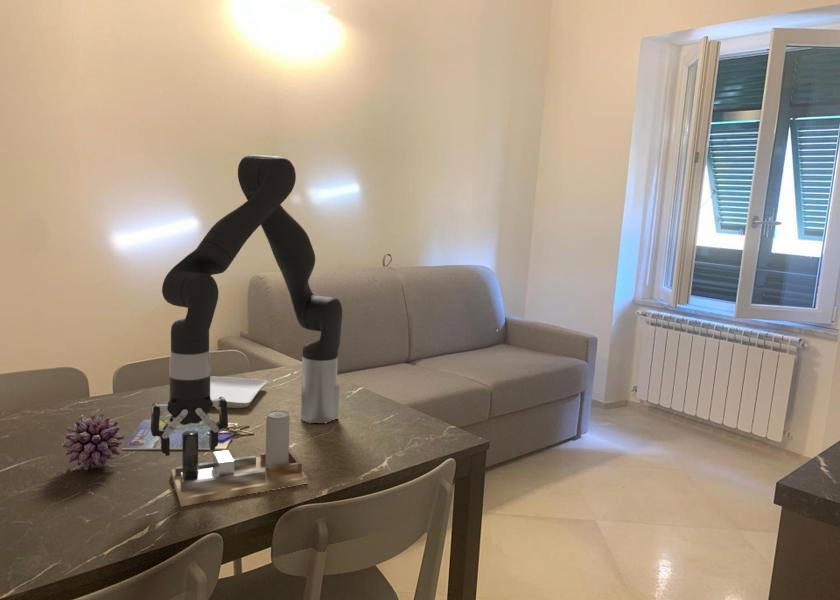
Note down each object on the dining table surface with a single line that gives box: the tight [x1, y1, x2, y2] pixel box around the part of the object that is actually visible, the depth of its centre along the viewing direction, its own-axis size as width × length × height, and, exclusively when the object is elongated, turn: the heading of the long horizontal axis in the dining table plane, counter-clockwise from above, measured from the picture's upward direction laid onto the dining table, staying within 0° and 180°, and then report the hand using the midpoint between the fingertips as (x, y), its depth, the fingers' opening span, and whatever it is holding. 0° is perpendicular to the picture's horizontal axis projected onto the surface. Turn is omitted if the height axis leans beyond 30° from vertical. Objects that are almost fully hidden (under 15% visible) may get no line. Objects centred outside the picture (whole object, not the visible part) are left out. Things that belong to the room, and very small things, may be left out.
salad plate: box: [210, 375, 268, 409], centre depth 183 cm, size 21×21×3 cm
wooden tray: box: [170, 448, 309, 507], centre depth 133 cm, size 25×14×4 cm, turn 118°
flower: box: [60, 412, 125, 471], centre depth 134 cm, size 12×12×12 cm
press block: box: [181, 430, 234, 482], centre depth 129 cm, size 10×6×10 cm, turn 118°
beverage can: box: [265, 409, 291, 470], centre depth 136 cm, size 5×5×12 cm
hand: (190, 451), depth 127 cm, fingers open, 8 cm apart
